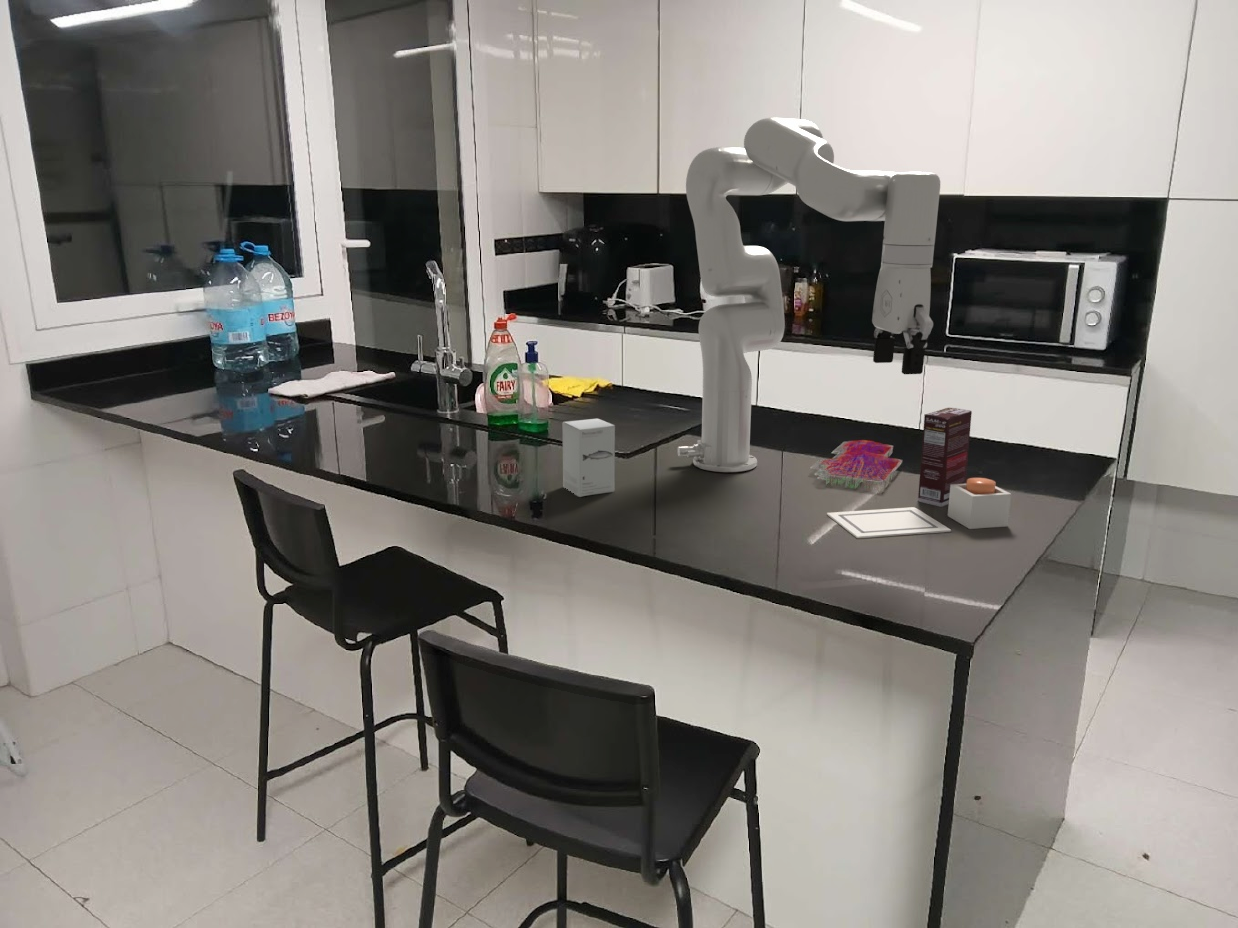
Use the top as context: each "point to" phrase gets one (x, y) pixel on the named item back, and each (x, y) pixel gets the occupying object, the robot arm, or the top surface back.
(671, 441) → the top surface
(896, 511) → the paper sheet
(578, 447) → the supplement box
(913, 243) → the robot arm
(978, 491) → the button
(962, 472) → the supplement box
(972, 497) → the button housing
